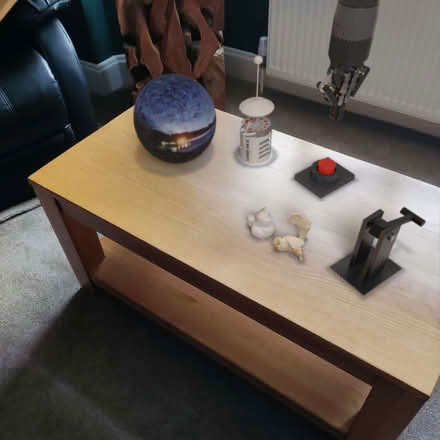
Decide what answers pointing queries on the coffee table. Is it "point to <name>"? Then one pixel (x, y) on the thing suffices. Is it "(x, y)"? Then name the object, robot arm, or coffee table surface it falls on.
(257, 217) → the white lumpy piece
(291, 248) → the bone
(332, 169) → the button
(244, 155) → the french press
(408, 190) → the coffee table surface
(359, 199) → the coffee table surface
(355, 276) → the bracket
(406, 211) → the lever
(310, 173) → the control block
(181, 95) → the decorative sphere
